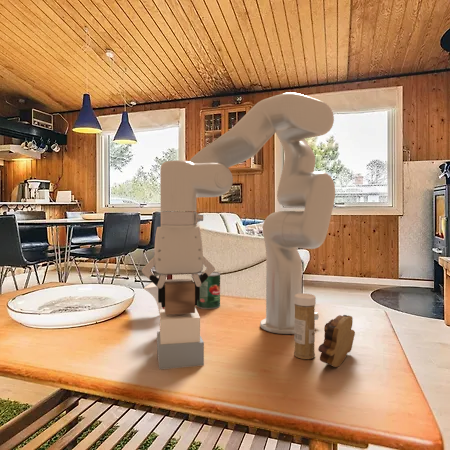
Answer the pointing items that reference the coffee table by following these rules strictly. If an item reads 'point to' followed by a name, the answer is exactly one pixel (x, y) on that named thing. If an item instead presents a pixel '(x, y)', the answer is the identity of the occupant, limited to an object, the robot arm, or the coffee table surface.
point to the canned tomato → (210, 292)
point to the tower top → (179, 327)
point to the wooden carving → (337, 340)
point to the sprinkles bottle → (304, 325)
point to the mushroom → (154, 293)
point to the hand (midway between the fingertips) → (178, 304)
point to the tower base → (180, 354)
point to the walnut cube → (179, 296)
